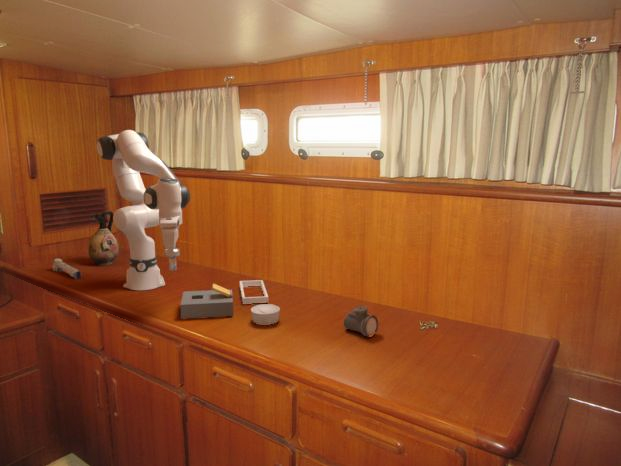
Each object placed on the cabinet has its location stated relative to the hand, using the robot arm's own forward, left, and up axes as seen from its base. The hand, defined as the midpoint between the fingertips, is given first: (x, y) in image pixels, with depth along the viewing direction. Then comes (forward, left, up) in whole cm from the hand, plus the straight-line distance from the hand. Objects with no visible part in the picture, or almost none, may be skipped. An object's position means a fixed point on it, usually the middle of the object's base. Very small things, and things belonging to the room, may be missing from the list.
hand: (172, 253), depth 177 cm
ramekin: (+18, +35, -24) cm, 46 cm away
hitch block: (+3, +13, -24) cm, 27 cm away
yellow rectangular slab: (+3, +19, -16) cm, 25 cm away
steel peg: (0, 0, -7) cm, 7 cm away
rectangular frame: (-14, +33, -24) cm, 43 cm away
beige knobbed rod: (-62, -59, -24) cm, 88 cm away
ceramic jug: (-80, -44, -24) cm, 94 cm away
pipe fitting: (+34, +68, -24) cm, 80 cm away
